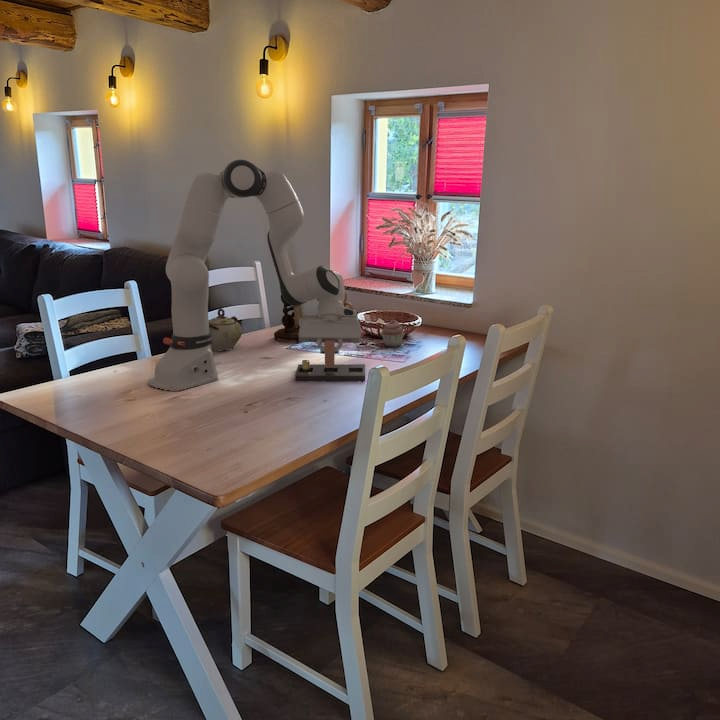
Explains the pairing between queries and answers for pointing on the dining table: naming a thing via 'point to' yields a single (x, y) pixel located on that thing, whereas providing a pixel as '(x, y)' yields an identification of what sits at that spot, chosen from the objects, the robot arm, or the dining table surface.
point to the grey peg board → (330, 372)
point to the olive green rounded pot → (224, 331)
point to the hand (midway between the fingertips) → (329, 352)
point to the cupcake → (392, 334)
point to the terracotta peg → (329, 353)
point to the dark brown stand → (289, 323)
